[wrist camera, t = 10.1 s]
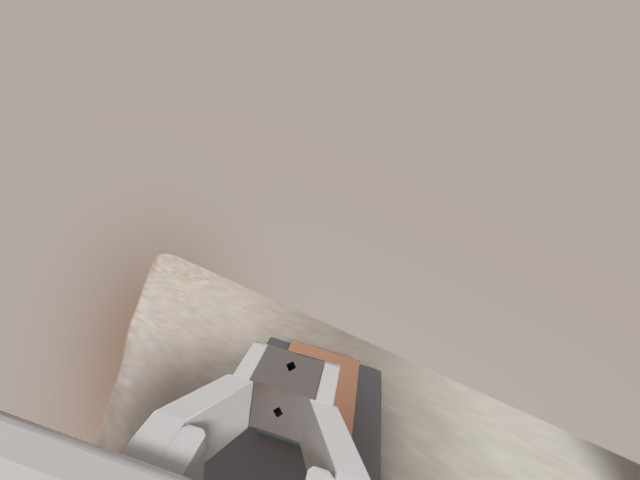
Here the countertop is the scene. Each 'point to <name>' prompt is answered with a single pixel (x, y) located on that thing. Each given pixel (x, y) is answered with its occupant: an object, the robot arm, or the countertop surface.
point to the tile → (345, 384)
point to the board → (287, 459)
